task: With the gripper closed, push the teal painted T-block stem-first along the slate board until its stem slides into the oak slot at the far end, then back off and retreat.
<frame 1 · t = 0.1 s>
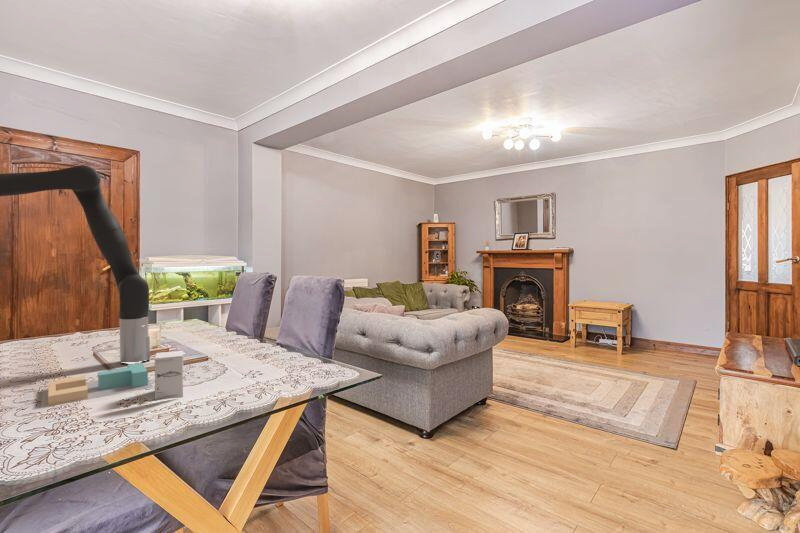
supplement box: (169, 396, 120), on the table
tee block: (137, 381, 129), point 1 cm above the table, touching slot board
slot board: (69, 396, 118), on the table
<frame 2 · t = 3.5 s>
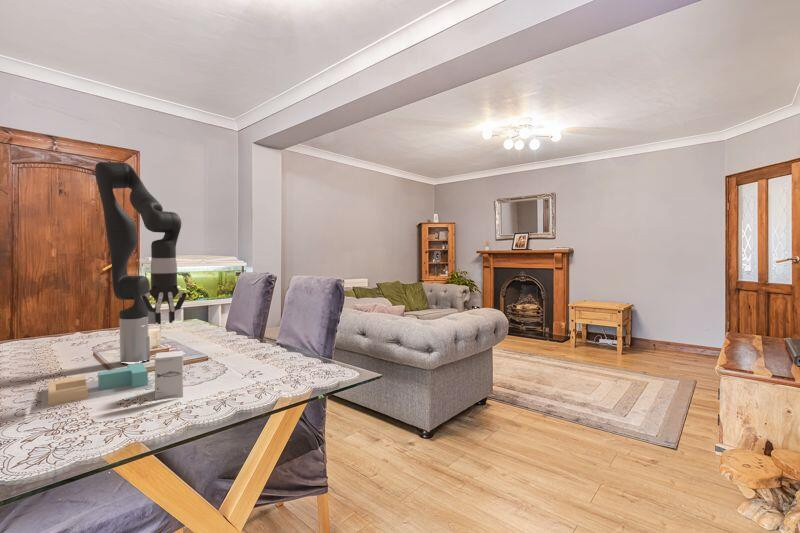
hand: (164, 323, 133), 19 cm above the table, fingers open, 3 cm apart
nothing on the table moved.
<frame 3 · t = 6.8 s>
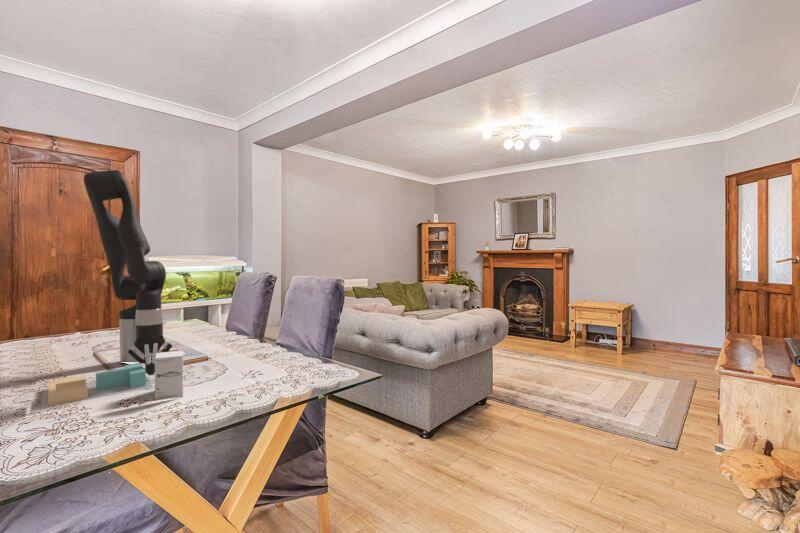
hand: (150, 374, 131), 3 cm above the table, fingers closed
tee block: (135, 381, 128), point 1 cm above the table, touching gripper
everything else where it was.
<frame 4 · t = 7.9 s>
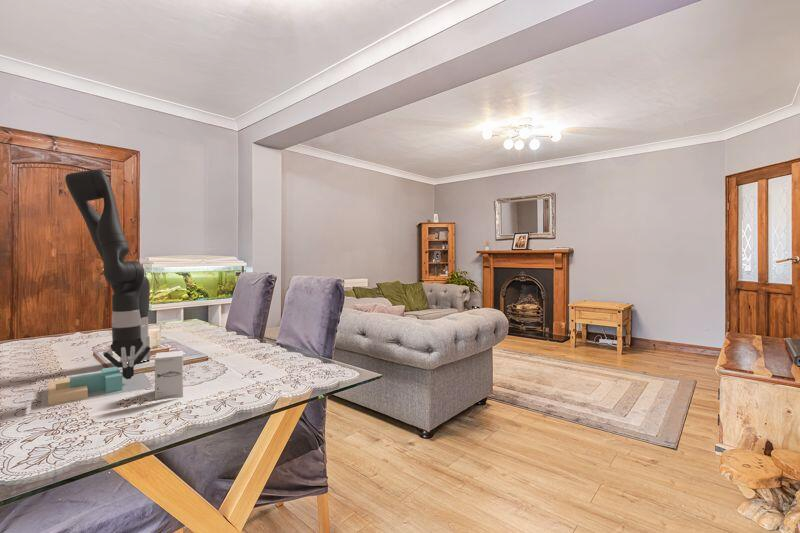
hand: (128, 378, 127), 3 cm above the table, fingers closed
tee block: (112, 386, 124), point 1 cm above the table, touching gripper, slot board
everything else where it was.
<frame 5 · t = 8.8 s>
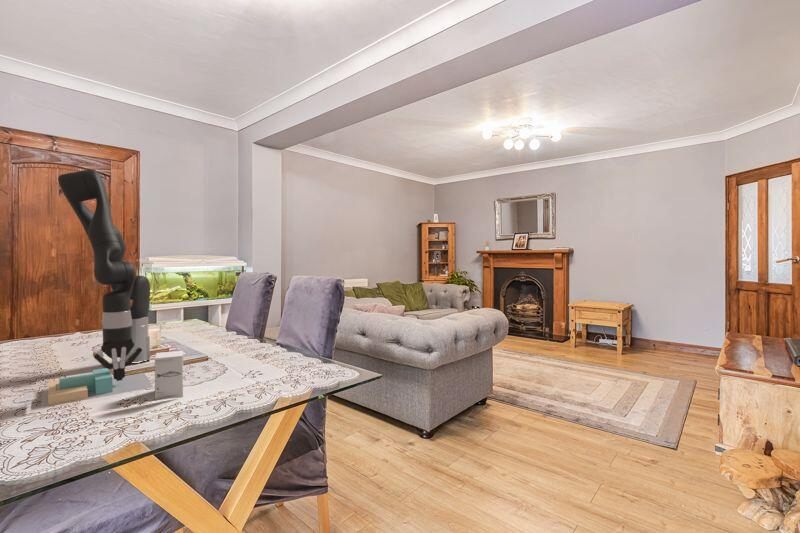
hand: (119, 379, 125), 3 cm above the table, fingers closed
tee block: (102, 387, 123), point 1 cm above the table, touching gripper, slot board
everything else where it was.
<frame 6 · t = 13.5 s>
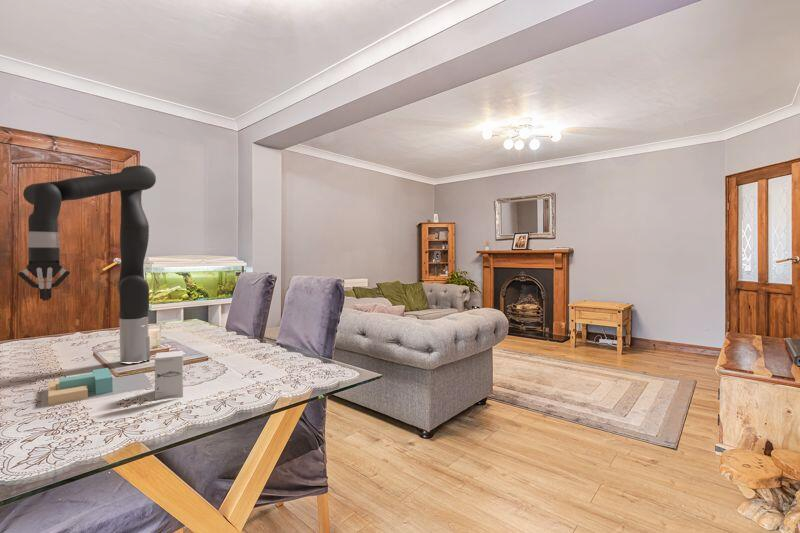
hand: (45, 300, 128), 27 cm above the table, fingers closed
tee block: (102, 387, 123), point 1 cm above the table, touching slot board
everything else where it was.
at the end: tee block 0.7 cm from the target spot on the slot board, point 1.0 cm above the slot board's base; tee block tilted 0°; tee block moved 9.1 cm from its start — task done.
